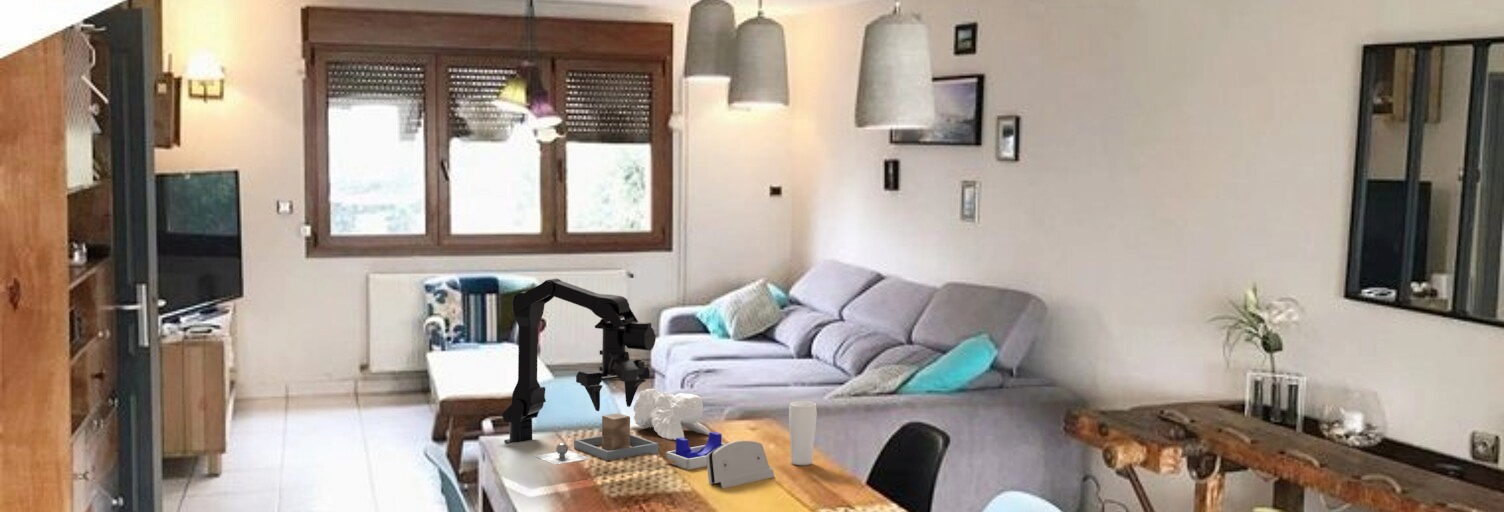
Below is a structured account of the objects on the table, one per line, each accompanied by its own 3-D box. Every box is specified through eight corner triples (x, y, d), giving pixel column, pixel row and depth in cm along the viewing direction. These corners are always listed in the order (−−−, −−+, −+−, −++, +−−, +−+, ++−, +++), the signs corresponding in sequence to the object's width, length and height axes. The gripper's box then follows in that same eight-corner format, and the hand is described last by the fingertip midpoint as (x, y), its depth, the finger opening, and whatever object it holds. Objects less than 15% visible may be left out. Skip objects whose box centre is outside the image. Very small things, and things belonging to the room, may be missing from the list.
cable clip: (686, 465, 315) (687, 441, 314) (675, 461, 318) (676, 438, 318) (724, 458, 323) (725, 435, 322) (713, 455, 326) (714, 431, 326)
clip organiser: (665, 461, 317) (665, 451, 317) (720, 452, 328) (720, 442, 328) (687, 469, 310) (687, 459, 310) (743, 459, 321) (743, 449, 321)
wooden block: (613, 454, 319) (613, 419, 319) (601, 450, 323) (601, 415, 322) (629, 452, 323) (630, 416, 322) (618, 448, 327) (618, 413, 326)
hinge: (722, 488, 294) (713, 445, 296) (709, 491, 298) (700, 448, 300) (775, 476, 306) (766, 435, 307) (762, 479, 309) (754, 438, 311)
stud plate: (533, 462, 315) (533, 442, 315) (569, 456, 321) (569, 436, 321) (554, 470, 307) (554, 450, 307) (590, 464, 314) (590, 444, 313)
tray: (573, 453, 324) (574, 439, 324) (624, 445, 334) (624, 432, 333) (606, 466, 312) (606, 452, 312) (658, 457, 322) (658, 443, 322)
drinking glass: (782, 463, 318) (783, 403, 317) (800, 458, 323) (801, 399, 322) (803, 468, 314) (804, 407, 312) (821, 463, 319) (822, 403, 317)
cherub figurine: (668, 386, 360) (716, 389, 346) (669, 430, 360) (718, 435, 346) (631, 390, 351) (680, 394, 337) (633, 436, 351) (682, 441, 337)
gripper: (599, 355, 308) (598, 419, 310) (663, 348, 320) (662, 410, 322) (575, 348, 317) (574, 411, 318) (638, 342, 329) (637, 402, 330)
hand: (613, 408), depth 322 cm, fingers open, 9 cm apart
